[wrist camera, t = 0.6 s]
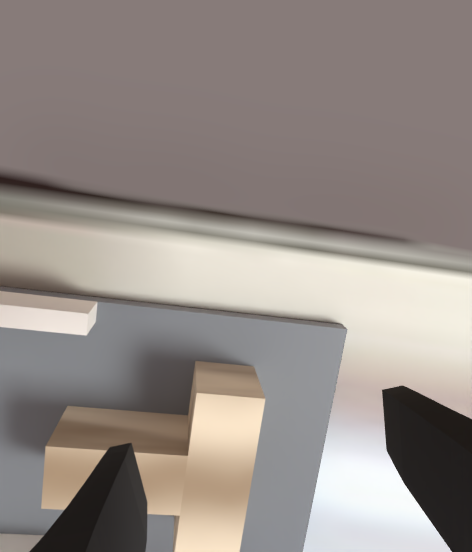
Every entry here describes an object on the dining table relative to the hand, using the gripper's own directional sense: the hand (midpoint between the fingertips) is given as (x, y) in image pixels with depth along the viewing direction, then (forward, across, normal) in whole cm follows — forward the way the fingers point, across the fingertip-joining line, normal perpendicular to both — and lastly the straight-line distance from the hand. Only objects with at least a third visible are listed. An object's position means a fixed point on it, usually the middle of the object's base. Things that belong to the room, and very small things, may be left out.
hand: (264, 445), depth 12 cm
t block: (+10, +5, +6) cm, 12 cm away
